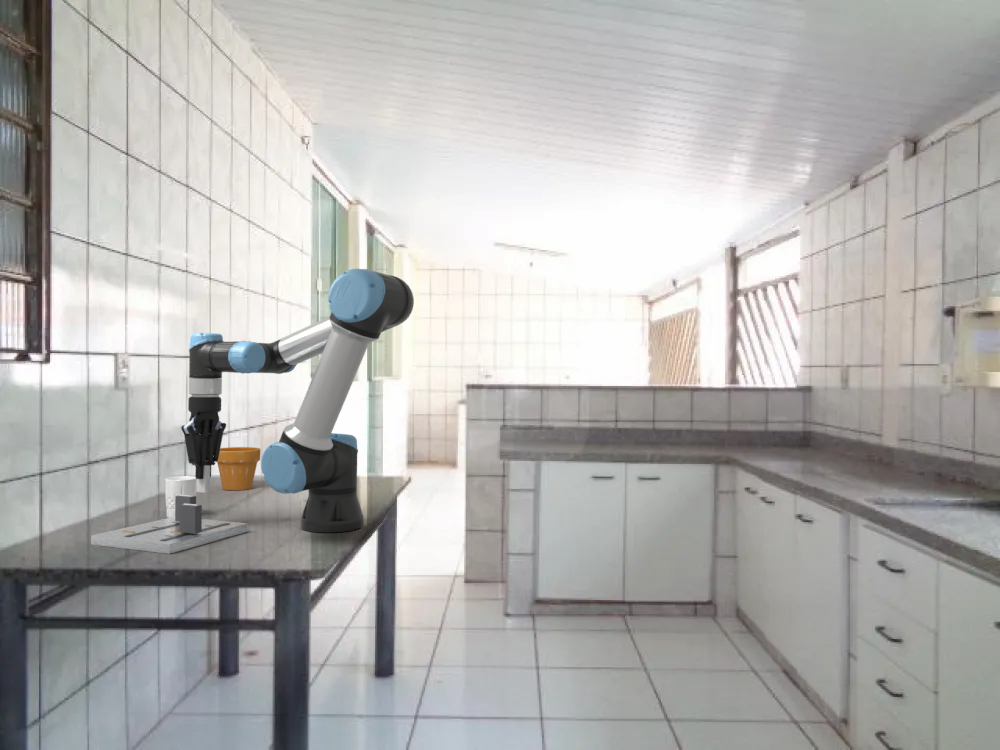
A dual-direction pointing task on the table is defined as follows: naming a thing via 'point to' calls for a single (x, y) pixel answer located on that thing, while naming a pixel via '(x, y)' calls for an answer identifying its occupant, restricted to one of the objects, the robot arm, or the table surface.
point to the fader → (190, 518)
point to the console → (167, 535)
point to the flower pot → (238, 467)
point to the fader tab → (182, 500)
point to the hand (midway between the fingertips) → (202, 491)
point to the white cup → (178, 490)
